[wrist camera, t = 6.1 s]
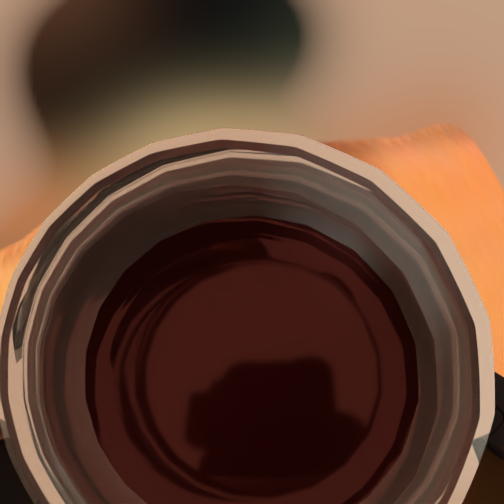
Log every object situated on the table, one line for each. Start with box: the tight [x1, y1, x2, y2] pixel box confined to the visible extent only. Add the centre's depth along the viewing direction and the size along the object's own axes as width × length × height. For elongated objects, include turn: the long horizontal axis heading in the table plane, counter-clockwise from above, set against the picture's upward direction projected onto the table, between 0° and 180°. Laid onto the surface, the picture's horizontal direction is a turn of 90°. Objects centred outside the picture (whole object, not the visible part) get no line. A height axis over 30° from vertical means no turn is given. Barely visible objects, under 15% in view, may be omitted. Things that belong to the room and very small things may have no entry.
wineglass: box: [0, 128, 495, 504], centre depth 8 cm, size 7×7×12 cm
